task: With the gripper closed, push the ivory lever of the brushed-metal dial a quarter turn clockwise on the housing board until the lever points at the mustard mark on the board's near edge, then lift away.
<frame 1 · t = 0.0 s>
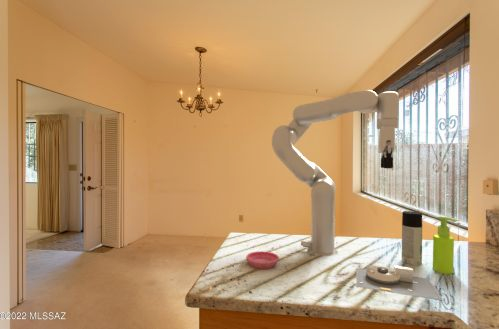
hand: (386, 168, 107), 37 cm above the counter, tool pointing down, fingers open, 9 cm apart
spray can: (411, 265, 104), on the counter
board: (393, 286, 85), on the counter
soap dispenser: (444, 274, 95), on the counter
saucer: (262, 265, 103), on the counter
dial: (388, 272, 88), point 3 cm above the counter, hinge at 0.0°
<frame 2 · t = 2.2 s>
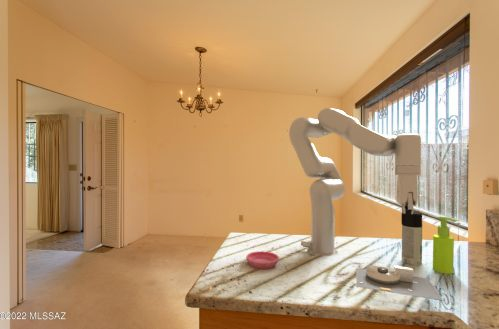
hand: (407, 225, 91), 18 cm above the counter, tool pointing down, fingers closed
nothing on the counter moved.
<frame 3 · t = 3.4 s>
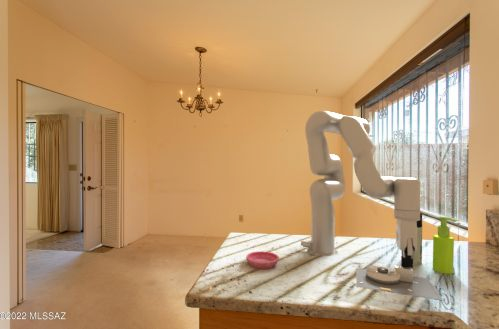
hand: (407, 269, 91), 3 cm above the counter, tool pointing down, fingers closed
nothing on the counter moved.
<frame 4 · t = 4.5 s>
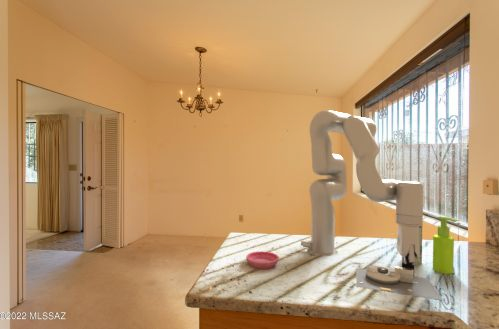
hand: (407, 275, 88), 2 cm above the counter, tool pointing down, fingers closed
dial: (388, 272, 88), point 3 cm above the counter, hinge at -4.4°, touching gripper
everything else where it was.
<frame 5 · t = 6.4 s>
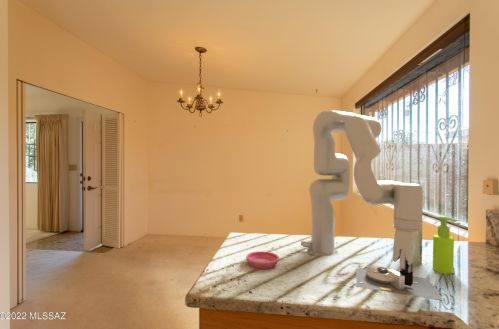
hand: (406, 283, 83), 2 cm above the counter, tool pointing down, fingers closed
dial: (386, 273, 87), point 3 cm above the counter, hinge at -59.3°, touching gripper
everything else where it was.
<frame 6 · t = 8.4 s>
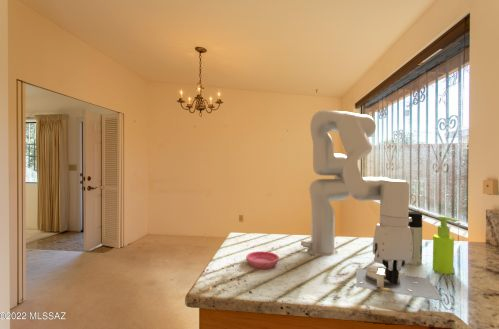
hand: (391, 281, 81), 3 cm above the counter, tool pointing down, fingers closed
dial: (382, 273, 87), point 3 cm above the counter, hinge at -100.2°
everything else where it was.
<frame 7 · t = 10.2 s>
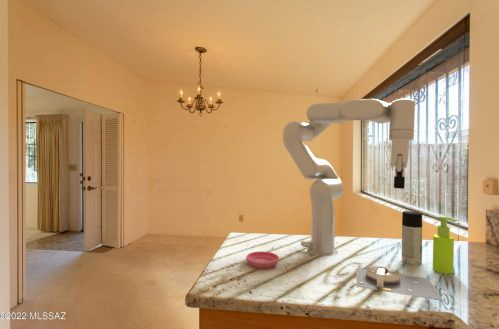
hand: (399, 188, 95), 30 cm above the counter, tool pointing down, fingers closed
nothing on the counter moved.
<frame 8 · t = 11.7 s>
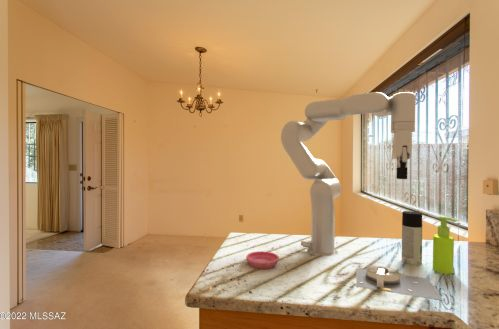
hand: (401, 178, 98), 33 cm above the counter, tool pointing down, fingers closed
nothing on the counter moved.
at the end: dial at -100° (first picture: +0°) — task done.
